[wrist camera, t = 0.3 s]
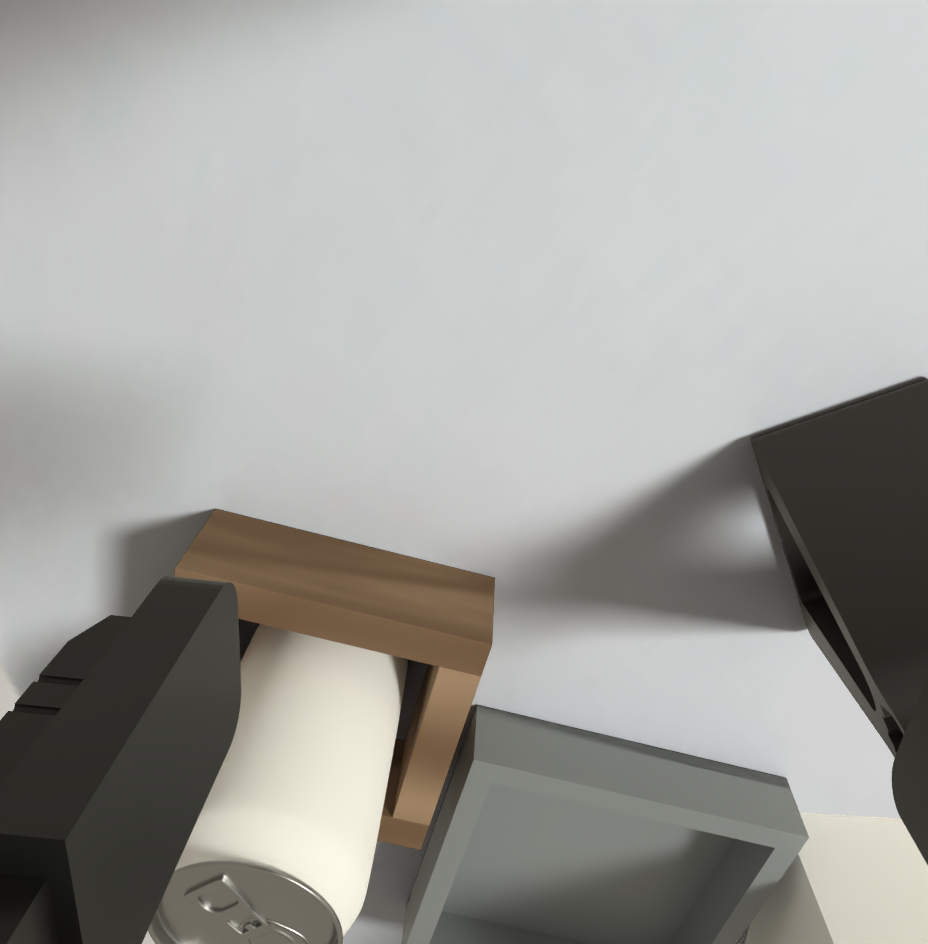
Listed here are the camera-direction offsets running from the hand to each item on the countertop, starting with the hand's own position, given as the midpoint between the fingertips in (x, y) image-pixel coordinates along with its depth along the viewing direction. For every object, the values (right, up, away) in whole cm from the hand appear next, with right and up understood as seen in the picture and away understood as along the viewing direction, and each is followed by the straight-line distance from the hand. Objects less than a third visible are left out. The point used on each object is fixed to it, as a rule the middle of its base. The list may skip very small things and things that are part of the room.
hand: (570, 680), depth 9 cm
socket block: (-7, -5, +23) cm, 25 cm away
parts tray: (+4, -15, +28) cm, 32 cm away
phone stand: (+13, +1, +19) cm, 23 cm away
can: (-7, -5, +24) cm, 25 cm away
